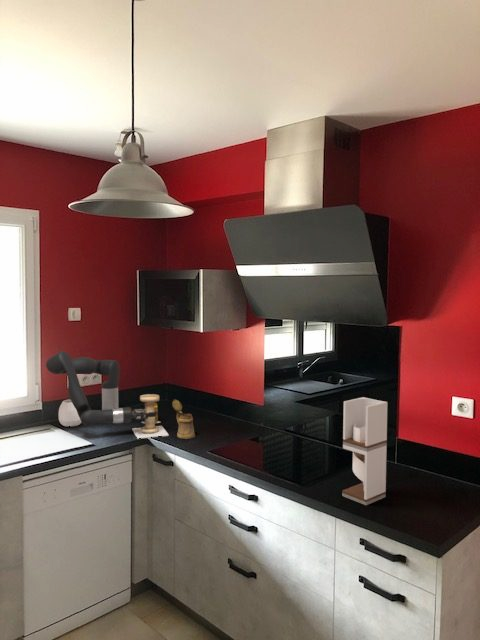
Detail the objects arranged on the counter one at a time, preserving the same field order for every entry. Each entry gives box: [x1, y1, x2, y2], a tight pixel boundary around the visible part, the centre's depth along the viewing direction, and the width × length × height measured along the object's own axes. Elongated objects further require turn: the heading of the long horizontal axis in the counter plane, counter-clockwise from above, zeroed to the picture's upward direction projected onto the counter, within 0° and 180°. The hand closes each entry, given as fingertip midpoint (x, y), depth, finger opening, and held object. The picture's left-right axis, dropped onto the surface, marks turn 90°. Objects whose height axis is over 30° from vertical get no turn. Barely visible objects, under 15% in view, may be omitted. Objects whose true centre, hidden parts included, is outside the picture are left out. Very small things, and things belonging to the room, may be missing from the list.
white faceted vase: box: [58, 398, 83, 427], centre depth 286 cm, size 13×13×14 cm
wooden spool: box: [139, 393, 161, 433], centre depth 272 cm, size 10×10×18 cm
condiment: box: [141, 401, 160, 425], centre depth 292 cm, size 7×8×12 cm
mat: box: [131, 425, 170, 440], centre depth 272 cm, size 18×16×1 cm
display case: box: [341, 396, 388, 506], centre depth 190 cm, size 11×11×35 cm
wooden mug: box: [171, 398, 196, 440], centre depth 266 cm, size 9×14×18 cm, turn 49°
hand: (154, 412), depth 272 cm, fingers closed on wooden spool, 5 cm apart
